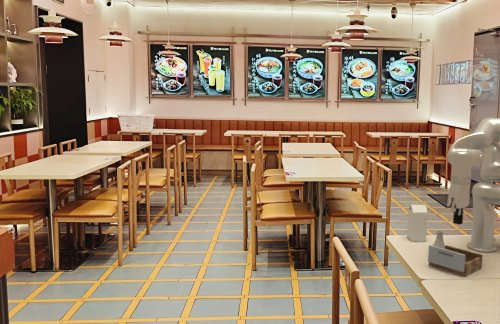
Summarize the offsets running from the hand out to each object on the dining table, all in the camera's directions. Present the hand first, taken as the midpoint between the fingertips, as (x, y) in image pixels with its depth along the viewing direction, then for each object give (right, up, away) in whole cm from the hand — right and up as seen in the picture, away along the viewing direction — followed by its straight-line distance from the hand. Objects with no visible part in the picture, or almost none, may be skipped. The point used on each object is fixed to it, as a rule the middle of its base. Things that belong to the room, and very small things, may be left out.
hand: (457, 223), depth 197 cm
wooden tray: (0, -19, +3) cm, 19 cm away
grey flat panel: (-6, -17, -2) cm, 18 cm away
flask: (0, -16, +21) cm, 27 cm away
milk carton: (-3, -14, +40) cm, 42 cm away
